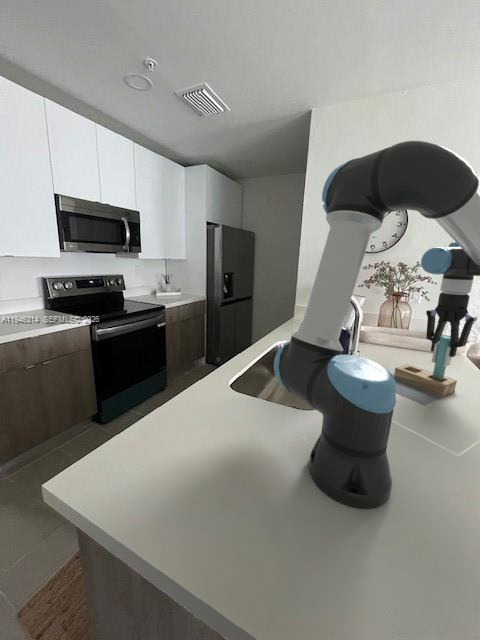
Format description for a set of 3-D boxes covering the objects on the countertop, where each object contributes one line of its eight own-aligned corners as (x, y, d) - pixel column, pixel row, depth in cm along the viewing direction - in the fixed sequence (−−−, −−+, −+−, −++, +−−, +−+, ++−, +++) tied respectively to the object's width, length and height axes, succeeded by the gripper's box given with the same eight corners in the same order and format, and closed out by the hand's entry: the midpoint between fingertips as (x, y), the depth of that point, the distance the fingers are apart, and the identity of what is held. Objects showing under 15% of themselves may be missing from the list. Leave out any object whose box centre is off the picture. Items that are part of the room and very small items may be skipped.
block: (442, 397, 87) (445, 385, 86) (393, 377, 100) (395, 367, 99) (454, 391, 91) (456, 380, 90) (405, 373, 104) (407, 364, 103)
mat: (424, 406, 81) (424, 405, 81) (369, 382, 97) (370, 381, 96) (455, 392, 91) (455, 391, 91) (402, 372, 106) (402, 371, 106)
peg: (440, 380, 89) (448, 339, 86) (430, 376, 92) (438, 336, 89) (445, 378, 91) (453, 338, 88) (435, 374, 93) (443, 335, 90)
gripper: (492, 295, 80) (475, 369, 85) (432, 289, 93) (421, 354, 99) (481, 296, 76) (464, 374, 82) (421, 290, 90) (409, 357, 95)
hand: (440, 363), depth 90 cm, fingers closed on peg, 3 cm apart
